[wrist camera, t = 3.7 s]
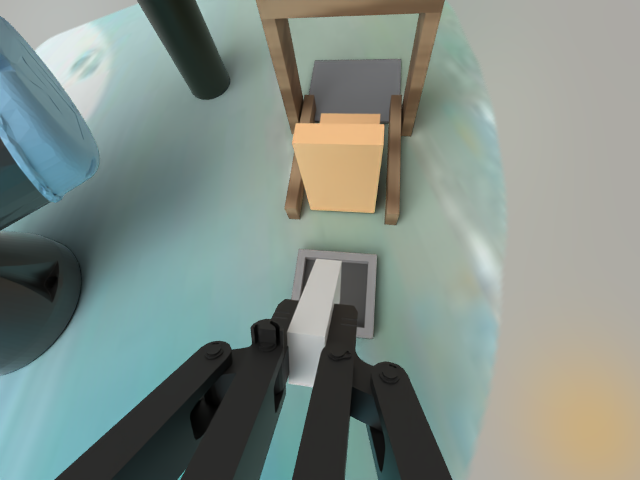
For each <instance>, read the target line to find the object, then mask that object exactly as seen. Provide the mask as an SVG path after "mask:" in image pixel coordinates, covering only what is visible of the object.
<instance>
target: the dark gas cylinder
mask: <svg viewBox="0 0 640 480" xmlns="http://www.w3.org/2000/svg"><path fill="white" fill-rule="evenodd" d="M137 1H138V3H139V5H140V6H141V8H142V10H143V11H144V13H145V15H146V16H147V18H148V20H149V21H150V23H151V25H152V26H153V28H154V30H155V31H156V33H157V35H158V36H159V38H160V40H161V41H162V43H163V45H164V46H165V48H166V50H167V51H168V53H169V55H170V56H171V58H172V60H173V61H174V63H175V65H176V66H177V68H178V70H179V71H180V73H181V75H182V76H183V78H184V80H185V81H186V83H187V85H188V86H189V88H190V90H191V92H192V93H193V95H194V96H196V97H197V98H200V99H212V98H215V97H218V96H219V95H221V94H222V93H224V92H225V91H226V89H227V88H228V86H229V83H230V79H229V76H228V74H227V71H226V69H225V67H224V64H223V62H222V60H221V58H220V55H219V53H218V51H217V48H216V46H215V44H214V42H213V39H212V37H211V35H210V32H209V30H208V28H207V26H206V23H205V21H204V19H203V16H202V14H201V12H200V9H199V7H198V5H197V3H196V0H137Z"/></svg>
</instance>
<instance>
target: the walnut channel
mask: <svg viewBox="0 0 640 480" xmlns="http://www.w3.org/2000/svg"><path fill="white" fill-rule="evenodd" d="M444 1H445V0H256V3H257V7H258V10H259V14H260V18H261V21H262V25H263V29H264V32H265V36H266V40H267V44H268V47H269V51H270V55H271V58H272V62H273V66H274V69H275V73H276V77H277V80H278V84H279V88H280V91H281V95H282V99H283V103H284V106H285V110H286V114H287V117H288V121H289V125H290V128H291V132H292V134H294V130H295V125H296V123H315V121H314V120H315V113H316V104H315V97H314V95H305V96H304V101H303V96H302V90H301V85H300V80H299V75H298V70H297V65H296V59H295V54H294V49H293V44H292V39H291V33H290V28H289V23H288V18H307V17H334V16H361V15H387V14H414V13H419V18H418V23H417V29H416V34H415V39H414V45H413V50H412V56H411V61H410V66H409V72H408V77H407V82H406V88H405V93H404V99H403V104H402V109H401V101H402V95H391V101H390V108H389V127H388V153H387V178H386V203H385V224H389V225H396V223H397V220H398V217H399V201H400V151H401V136H411V134H412V130H413V126H414V122H415V117H416V113H417V109H418V105H419V101H420V97H421V93H422V89H423V85H424V81H425V77H426V73H427V69H428V65H429V61H430V57H431V53H432V49H433V45H434V41H435V37H436V33H437V29H438V25H439V21H440V17H441V13H442V9H443V5H444ZM304 188H305V187H304V184H303V180H302V177H301V173H300V170H299V166H298V163H297V159H296V155H295V152H294V158H293V163H292V169H291V174H290V180H289V186H288V191H287V197H286V202H285V210H286V213H287V215H288V217H289V219H300V213H301V207H302V201H303V194H304Z"/></svg>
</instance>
